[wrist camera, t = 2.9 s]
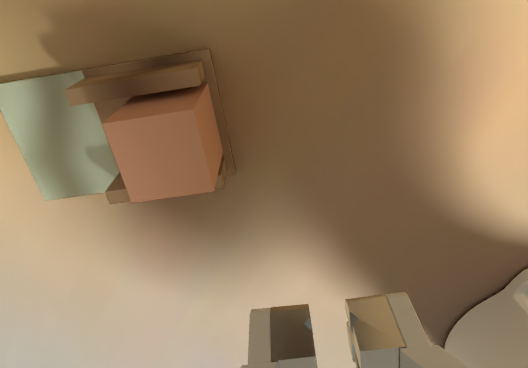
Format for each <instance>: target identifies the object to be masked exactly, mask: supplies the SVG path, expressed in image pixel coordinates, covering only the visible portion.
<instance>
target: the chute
mask: <svg viewBox="0 0 528 368" xmlns="http://www.w3.org/2000/svg"><path fill="white" fill-rule="evenodd" d="M207 82H208V86H209V90H210V95H211V99H212V104H213V108H214V113H215V117H216V122H217V126H218V131H219V135H220V140H221V144H222V149H223V154H222V158H221V163H220V167H219V171H218V176H217V180H216V185H215V189H214V190H216V189H223V188H224V184H225V179H226V175H232V174H235V172H236V171H235V166H234V161H233V156H232V152H231V147H230V142H229V138H228V133H227V128H226V124H225V119H224V114H223V109H222V105H221V100H220V95H219V91H218V86H217V81H216V77H215V72H214V67H213V62H212V58H211V53H210V49H204V50H198V51H192V52H186V53H180V54H174V55H168V56H162V57H156V58H149V59H143V60H137V61H131V62H125V63H119V64H113V65H107V66H101V67H95V68H89V69H83V70H77V71H71V72H65V73H59V74H53V75H47V76H41V77H35V78H29V79H23V80H17V81H11V82H5V83H0V110H1V112H2V114H3V116H4V118H5V120H6V122H7V124H8V126H9V128H10V130H11V132H12V134H13V137H14V139H15V141H16V143H17V145H18V147H19V149H20V151H21V153H22V155H23V157H24V159H25V161H26V163H27V165H28V167H29V169H30V171H31V173H32V175H33V177H34V179H35V181H36V183H37V185H38V187H39V189H40V191H41V193H42V195H43V197H44V199H45V201H49V200H56V199H63V198H70V197H77V196H84V195H91V194H98V193H106V196H107V198H108V201H109V203H110V204H116V203H123V202H130V201H131V200H130V197H129V195H128V192H127V189H126V187H125V184H124V181H123V179H122V176H121V173H120V171H119V168H118V165H117V162H116V160H115V157H114V154H113V152H112V149H111V146H110V144H109V141H108V138H107V135H106V133H105V130H104V127H103V125H102V123H104V122H105V121H106V120H107V119H108V118H109V117H110V116H111V115H112V114H113V113H115V112H116V111H117V110H118V109H119V108H120V107H121V106H122V105H123V104H125V103H126V102H127V101H128V100H129V99H130V98H131V97H132V96H138V95H144V94H151V93H157V92H163V91H170V90H176V89H182V88H188V87H195V86H200V84H201V83H207Z"/></svg>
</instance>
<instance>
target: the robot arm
mask: <svg viewBox="0 0 528 368" xmlns="http://www.w3.org/2000/svg"><path fill="white" fill-rule="evenodd" d="M345 310H346V314H347V318H348V321H347V332H348V339H349V345H350V350H351V355H352V359H353V361H354V362H355V363H356V368H528V268H527V269H525V270H524V271H522V272H521V273H520V274H518V275H517V276H516V277H515V278H514V279H513V280H512V281H511V282H510V283H509V284H508V285H507V286H506V287H505V288H504V289H503V290H502V291H500V292H499V293H497V294H496V295H494V296H492V297H490V298H489V299H487V300H485V301H483V302H482V303H480V304H478V305H477V306H475V307H474V308H472V309H471V310H470V311H469V312H467V313H466V314H465V315H464V316H463V317H462V318H461V319H460V320H459V321H458V322H457V323H456V325H455V326H454V327H453V329H452V330H451V332H450V333H449V335H448V338H447V340H446V343H445V348H444V349H443V348H441V347H440V346H439V345H431V344H430V342H429V340H428V338H427V336H426V333H425V331H424V329H423V327H422V325H421V323H420V321H419V318H418V316H417V314H416V312H415V310H414V308H413V306H412V303H411V301H410V299H409V297H408V295H407V294H406V293H405V292H398V293H390V294H385V295H383V294H382V295H374V296H367V297H359V298H351V299H345ZM241 368H317V361H316V354H315V347H314V340H313V332H312V325H311V318H310V312H309V305H308V304H302V305H291V306H280V307H271V308H263V309H252V310H251V313H250V323H249V349H248V365H242V366H241Z"/></svg>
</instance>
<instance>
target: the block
mask: <svg viewBox="0 0 528 368" xmlns="http://www.w3.org/2000/svg"><path fill="white" fill-rule="evenodd" d="M102 125H103V127H104V130H105V133H106V135H107V138H108V141H109V144H110V146H111V149H112V152H113V154H114V157H115V160H116V162H117V165H118V168H119V171H120V173H121V176H122V179H123V181H124V184H125V187H126V189H127V192H128V195H129V197H130V200H131V203H136V202H143V201H150V200H158V199H165V198H172V197H179V196H186V195H193V194H201V193H208V192H214V189H215V185H216V180H217V176H218V171H219V167H220V163H221V158H222V154H223V149H222V144H221V140H220V135H219V131H218V126H217V122H216V117H215V113H214V108H213V104H212V99H211V95H210V90H209V86H208V82H207V83H201V84H200V86H195V87H188V88H182V89H176V90H170V91H163V92H157V93H151V94H144V95H138V96H132V97H131V98H130V99H129V100H128V101H127V102H126V103H125V104H123V105H122V106H121V107H120V108H119V109H118V110H117V111H116V112H115V113H113V114H112V115H111V116H110V117H109V118H108V119H107V120H106V121H105V122H104V123H102Z"/></svg>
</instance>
